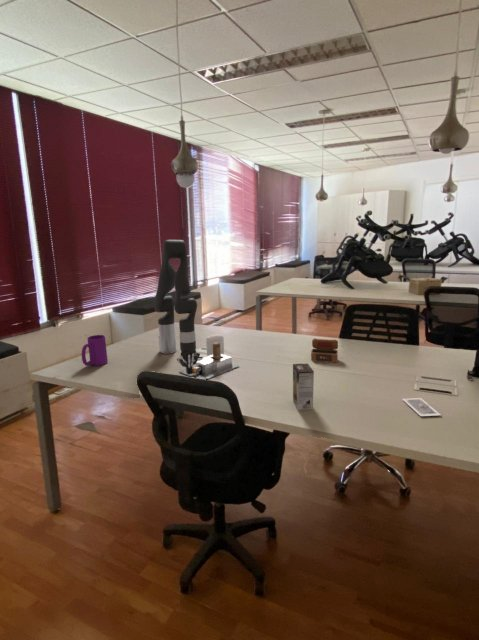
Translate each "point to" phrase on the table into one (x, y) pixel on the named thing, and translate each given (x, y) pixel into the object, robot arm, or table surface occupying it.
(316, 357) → the box
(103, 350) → the mug
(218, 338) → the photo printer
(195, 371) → the lock pin
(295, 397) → the coffee box
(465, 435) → the table surface
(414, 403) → the touchpad
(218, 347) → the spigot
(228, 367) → the dock
